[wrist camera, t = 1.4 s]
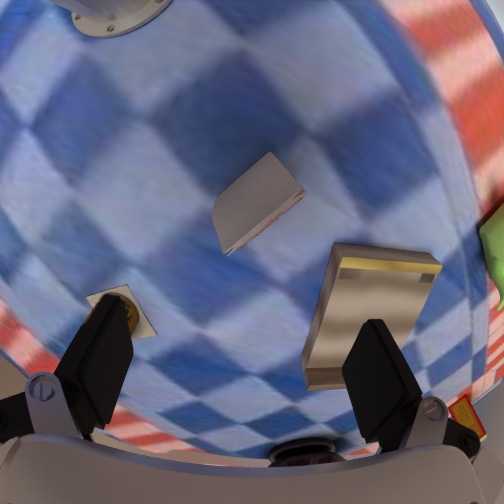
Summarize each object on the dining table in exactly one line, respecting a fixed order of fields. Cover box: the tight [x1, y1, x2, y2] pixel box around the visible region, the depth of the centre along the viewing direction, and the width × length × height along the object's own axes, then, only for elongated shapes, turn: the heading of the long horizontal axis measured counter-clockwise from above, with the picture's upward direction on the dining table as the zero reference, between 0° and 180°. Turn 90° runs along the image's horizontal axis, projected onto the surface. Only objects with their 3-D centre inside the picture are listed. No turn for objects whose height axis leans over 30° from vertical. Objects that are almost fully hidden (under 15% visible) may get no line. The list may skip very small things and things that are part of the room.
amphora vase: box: [268, 438, 347, 467], centre depth 41 cm, size 22×22×28 cm
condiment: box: [83, 285, 157, 340], centre depth 28 cm, size 7×8×12 cm
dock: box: [301, 243, 443, 391], centre depth 31 cm, size 18×14×6 cm
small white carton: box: [211, 151, 307, 256], centre depth 22 cm, size 4×7×10 cm, turn 131°
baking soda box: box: [448, 394, 487, 442], centre depth 46 cm, size 10×6×16 cm
